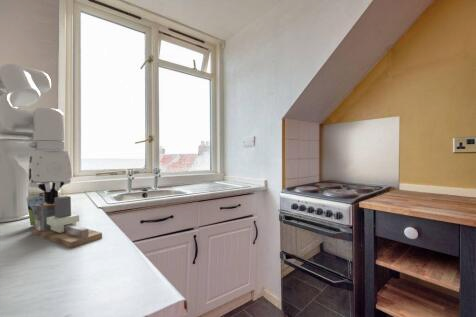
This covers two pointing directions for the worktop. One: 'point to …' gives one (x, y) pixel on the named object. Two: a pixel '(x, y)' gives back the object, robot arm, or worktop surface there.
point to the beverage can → (33, 200)
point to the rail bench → (67, 238)
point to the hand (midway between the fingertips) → (51, 203)
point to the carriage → (62, 214)
